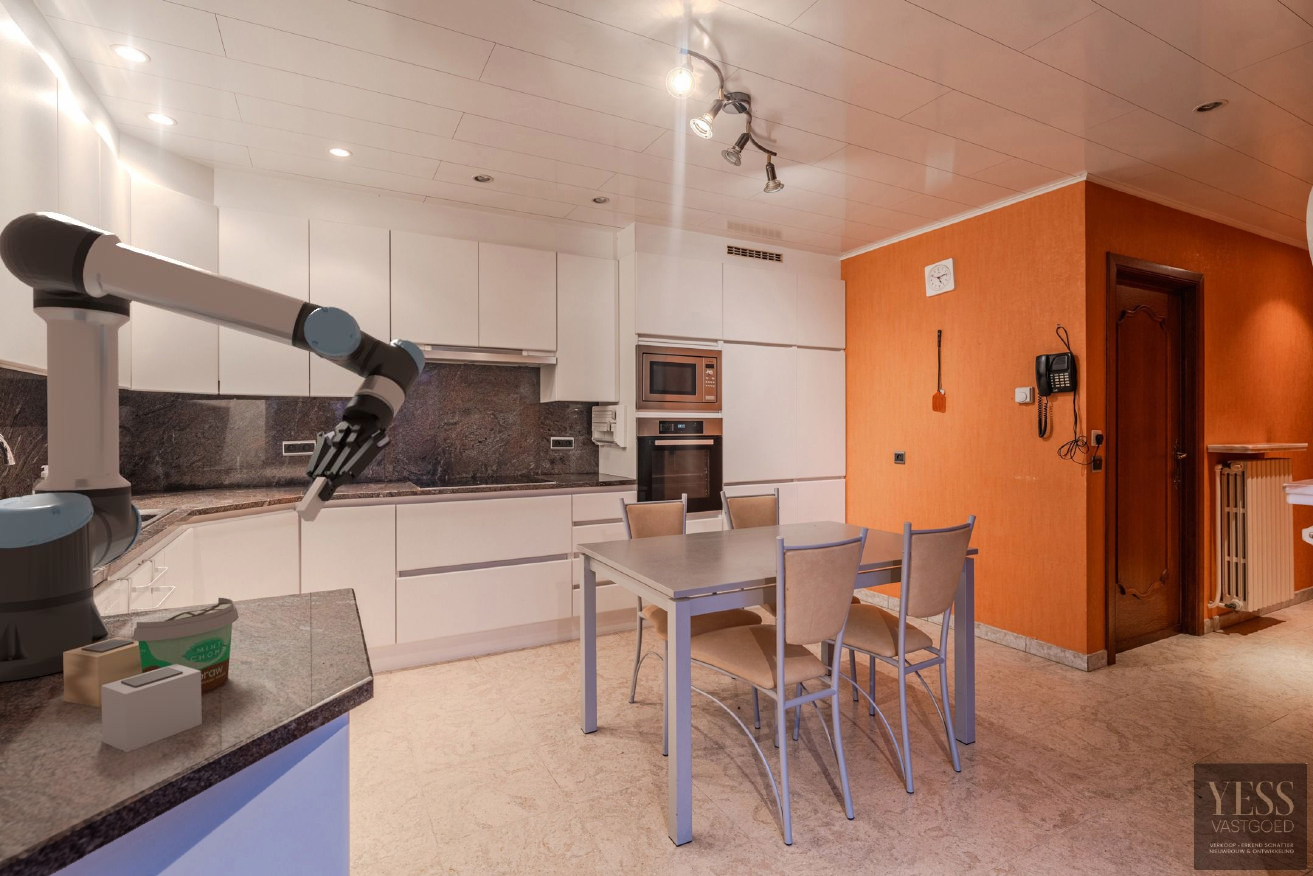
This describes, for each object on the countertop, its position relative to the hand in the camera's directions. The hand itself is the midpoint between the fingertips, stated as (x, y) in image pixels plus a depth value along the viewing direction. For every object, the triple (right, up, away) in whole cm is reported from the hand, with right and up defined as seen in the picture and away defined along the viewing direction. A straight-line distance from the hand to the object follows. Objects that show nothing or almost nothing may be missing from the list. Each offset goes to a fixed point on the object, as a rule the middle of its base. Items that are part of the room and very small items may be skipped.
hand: (304, 515), depth 97 cm
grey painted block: (-1, -20, -27) cm, 34 cm away
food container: (-4, -20, -15) cm, 26 cm away
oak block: (-15, -20, -17) cm, 30 cm away
